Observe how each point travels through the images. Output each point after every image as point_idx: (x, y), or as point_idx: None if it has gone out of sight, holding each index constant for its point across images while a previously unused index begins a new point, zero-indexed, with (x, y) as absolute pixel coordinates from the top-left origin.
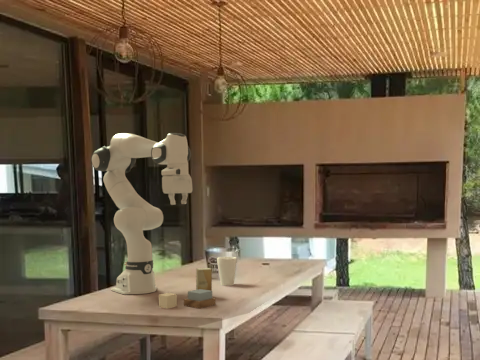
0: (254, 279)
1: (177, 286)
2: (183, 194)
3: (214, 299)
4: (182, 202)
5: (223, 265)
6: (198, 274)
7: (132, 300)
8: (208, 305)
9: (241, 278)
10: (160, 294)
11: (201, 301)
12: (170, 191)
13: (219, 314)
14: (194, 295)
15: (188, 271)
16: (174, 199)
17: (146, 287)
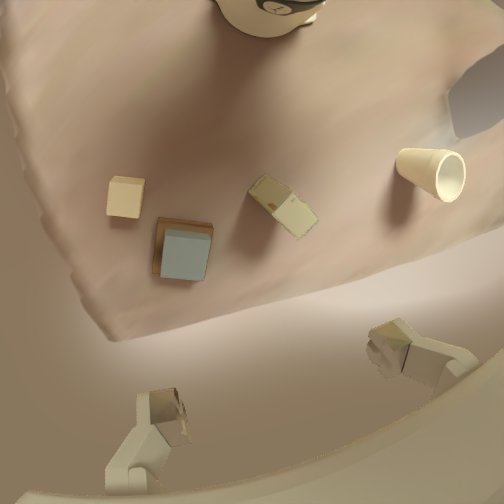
0: None
1: (357, 56)
2: (446, 386)
3: None
4: (375, 346)
5: (424, 175)
6: (267, 210)
7: (149, 55)
8: None
9: None
10: (114, 183)
11: (159, 273)
12: None
13: (135, 327)
14: (162, 256)
15: (478, 25)
16: (162, 457)
17: (249, 24)
